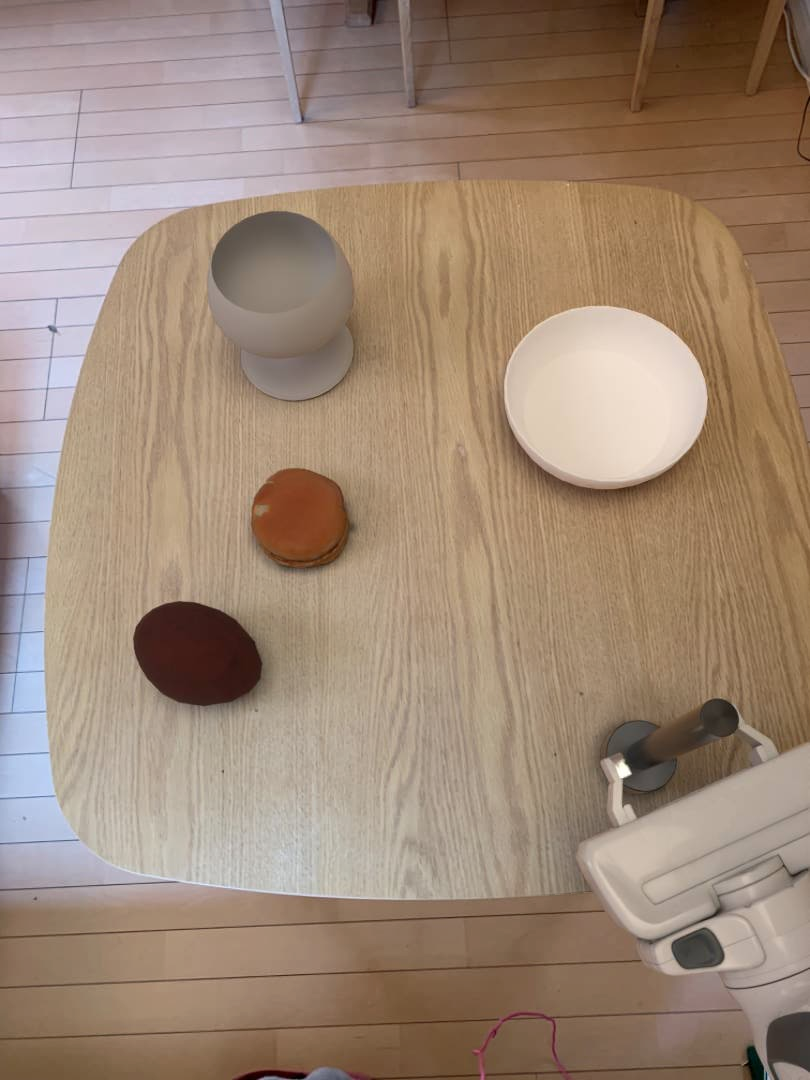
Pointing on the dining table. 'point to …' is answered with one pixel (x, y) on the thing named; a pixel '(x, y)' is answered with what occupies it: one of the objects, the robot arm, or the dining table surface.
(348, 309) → the chalice
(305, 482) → the burger
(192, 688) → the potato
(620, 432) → the bowl
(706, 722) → the rod on round base
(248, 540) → the dining table surface
